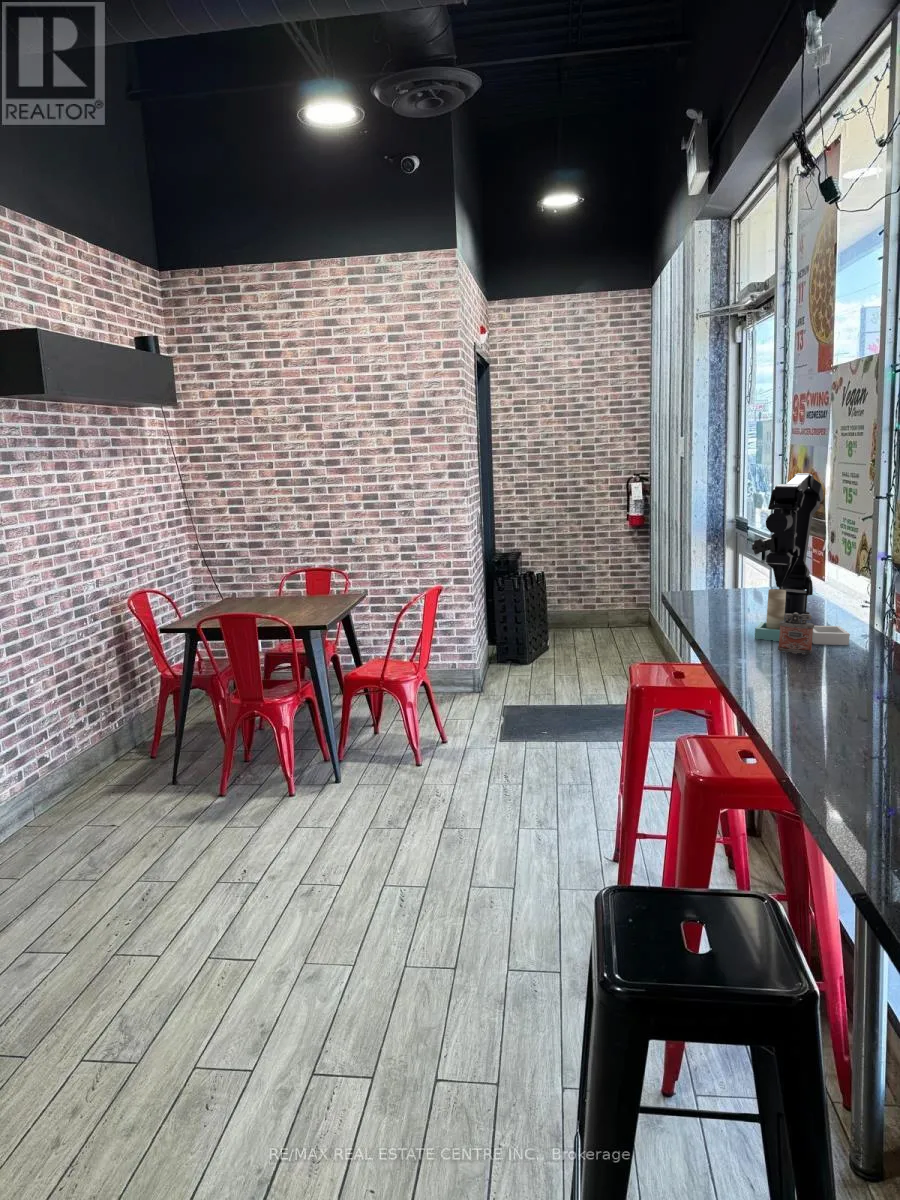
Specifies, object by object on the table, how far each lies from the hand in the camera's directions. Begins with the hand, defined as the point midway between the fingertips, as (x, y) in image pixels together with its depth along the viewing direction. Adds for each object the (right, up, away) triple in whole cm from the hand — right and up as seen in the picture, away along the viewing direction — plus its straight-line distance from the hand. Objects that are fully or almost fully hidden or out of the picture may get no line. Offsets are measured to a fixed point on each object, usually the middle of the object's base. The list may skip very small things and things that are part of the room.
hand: (781, 584), depth 236 cm
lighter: (-7, -18, -26) cm, 32 cm away
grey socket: (+6, -15, -15) cm, 22 cm away
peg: (-7, -15, -11) cm, 20 cm away
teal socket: (-7, -15, -11) cm, 20 cm away
